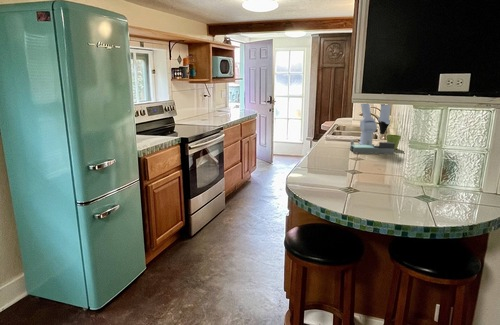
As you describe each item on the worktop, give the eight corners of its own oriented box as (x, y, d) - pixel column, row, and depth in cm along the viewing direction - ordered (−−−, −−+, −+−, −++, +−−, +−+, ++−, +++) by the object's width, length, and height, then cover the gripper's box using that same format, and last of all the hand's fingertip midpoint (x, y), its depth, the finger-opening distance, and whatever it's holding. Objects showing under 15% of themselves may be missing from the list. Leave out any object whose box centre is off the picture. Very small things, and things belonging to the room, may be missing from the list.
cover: (351, 145, 216) (351, 144, 216) (370, 145, 216) (370, 144, 216) (355, 148, 208) (355, 147, 208) (374, 148, 208) (374, 147, 208)
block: (378, 151, 215) (379, 142, 213) (391, 151, 215) (392, 142, 213) (380, 152, 211) (381, 143, 210) (393, 153, 211) (394, 143, 209)
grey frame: (349, 149, 219) (349, 139, 218) (387, 149, 219) (388, 140, 218) (353, 153, 209) (354, 143, 207) (393, 153, 209) (394, 143, 207)
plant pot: (397, 147, 227) (398, 134, 225) (401, 150, 218) (403, 137, 216) (382, 146, 228) (384, 134, 226) (386, 149, 219) (388, 136, 217)
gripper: (374, 111, 220) (372, 131, 224) (382, 113, 206) (380, 135, 210) (385, 111, 220) (383, 131, 224) (394, 113, 206) (391, 135, 210)
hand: (382, 133), depth 217 cm, fingers closed
